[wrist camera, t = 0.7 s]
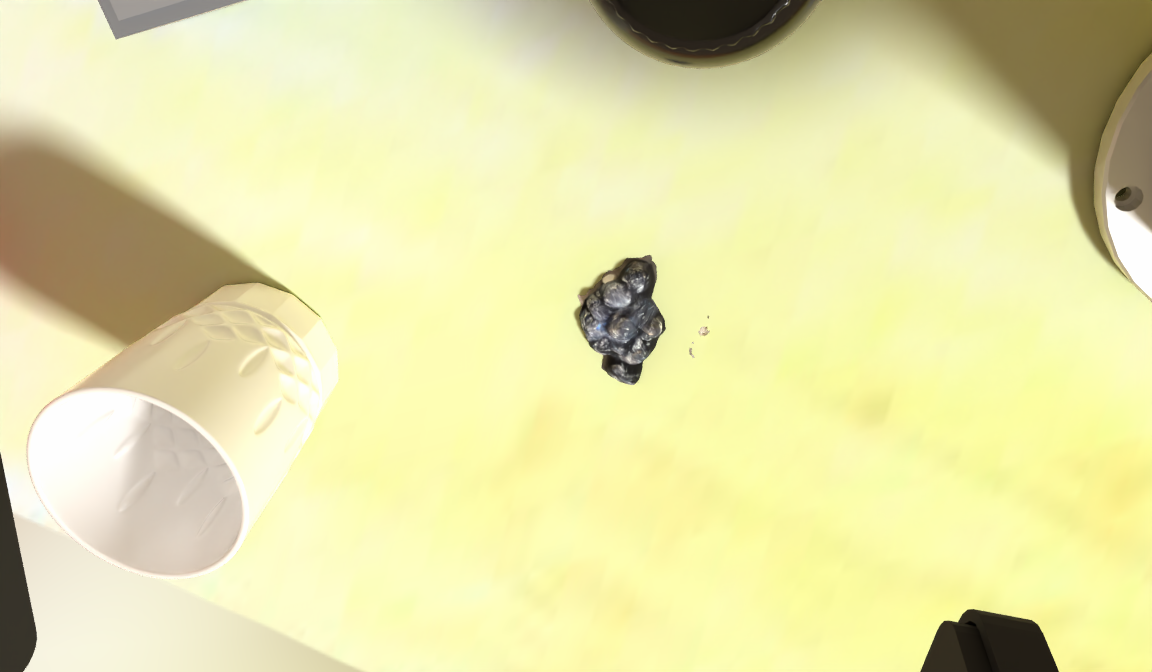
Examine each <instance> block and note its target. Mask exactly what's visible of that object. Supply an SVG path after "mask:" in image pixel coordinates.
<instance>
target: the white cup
mask: <svg viewBox="0 0 1152 672" xmlns="http://www.w3.org/2000/svg"><path fill="white" fill-rule="evenodd" d="M338 380H339V376H338V356H337V347H336V346H335V344H334V342H333V340H332V338H331V336H330V334H329V332H328V331H327V329H326V327H325V325H324V323H323V321H322V319H321V318H320V317H319V316H318V315H317V314H315V313H314V312H313V311H312V310H311V309H309V308H308V307H307V306H306V305H305V304H303V303H302V302H301V301H300V300H299V299H298V298H296V297H295V296H294V295H293V294H290V293H287V292H284V291H281V290H278V289H276V288H273V287H270V286H267V285H264V284H261V283H246V284H234V285H225V286H223V287H221V288H220V289H218V290H217V291H215V292H214V293H212V294H211V295H209V296H208V297H207V298H205V299H204V300H202V301H201V302H199V303H198V304H196V305H195V306H194V307H192V308H190V309H189V310H187V311H186V312H184V313H181V314H177V315H175V316H173V317H172V318H171V319H169V320H168V321H167V322H165V323H163V324H162V325H160V326H158V327H157V328H155V329H154V330H152V331H151V332H149V333H148V334H147V335H145V336H144V337H143V338H141V339H139V340H138V341H136V342H134V343H133V344H131V345H130V346H128V347H127V348H125V349H124V350H123V351H121V352H120V353H119V354H117V355H116V356H115V357H113V358H112V359H111V360H109V361H108V362H107V363H105V364H104V365H102V366H101V367H100V368H98V369H97V370H95V371H94V372H93V373H91V374H90V375H88V376H86V377H85V378H84V379H82V380H81V381H79V382H78V383H77V384H75V385H74V386H72V387H71V388H70V389H68V390H67V391H65V392H64V393H63V394H61V395H60V396H58V397H57V398H55V399H54V400H53V401H51V402H50V403H49V404H48V405H46V406H45V407H44V408H43V409H42V410H41V412H40V413H39V414H38V416H37V417H36V419H35V420H34V422H33V424H32V426H31V429H30V432H29V435H28V440H27V464H28V470H29V474H30V477H31V480H32V483H33V486H34V488H35V490H36V493H37V495H38V497H39V498H40V500H41V502H42V504H43V505H44V507H45V508H46V510H47V511H48V513H49V514H50V515H51V516H52V518H53V519H54V520H55V521H56V523H57V524H58V525H59V526H60V527H61V528H62V529H63V530H64V531H65V532H66V533H67V534H68V535H69V536H70V537H71V538H72V539H74V540H75V541H76V542H77V543H78V544H80V545H81V546H82V547H84V548H85V549H86V550H88V551H89V552H91V553H92V554H94V555H96V556H97V557H99V558H101V559H103V560H104V561H106V562H108V563H110V564H112V565H114V566H117V567H119V568H121V569H124V570H127V571H130V572H133V573H136V574H140V575H144V576H148V577H154V578H162V579H185V578H192V577H197V576H201V575H204V574H207V573H209V572H212V571H214V570H216V569H217V568H219V567H221V566H222V565H224V564H225V563H226V562H228V561H229V560H230V559H231V558H232V557H233V556H234V555H235V553H236V552H237V551H238V549H239V548H240V546H241V545H242V543H243V542H244V540H245V538H246V537H247V535H248V534H249V532H250V530H251V529H252V527H253V526H254V524H255V523H256V521H257V519H258V518H259V516H260V515H261V513H262V511H263V510H264V508H265V507H266V505H267V504H268V502H269V501H270V499H271V497H272V496H273V494H274V493H275V491H276V490H277V488H278V487H279V485H280V484H281V482H282V481H283V479H284V477H285V476H286V474H287V473H288V471H289V469H290V467H291V465H292V463H293V461H294V460H295V458H296V457H297V455H298V454H299V452H300V451H301V449H302V447H303V445H304V443H305V441H306V440H307V438H308V437H309V435H310V434H311V432H312V430H313V428H314V424H315V420H316V419H317V417H318V416H319V414H320V413H321V411H322V410H323V408H324V406H325V405H326V403H327V401H328V399H329V397H330V395H331V393H332V392H333V390H334V388H335V386H336V384H337V382H338Z"/></svg>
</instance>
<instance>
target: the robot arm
mask: <svg viewBox="0 0 1152 672" xmlns="http://www.w3.org/2000/svg"><path fill="white" fill-rule="evenodd" d="M1125 187H1126V192H1125V193H1124V194H1123V195H1122V196H1119V197H1115V196H1116V194H1117V193H1118V192H1119V191H1120V190H1121V189H1123V188H1125ZM1094 207H1095V211H1096V216H1097V221H1098V225H1099V230H1100V234H1101V236H1102V238H1103V240H1104V243H1105V245H1106V247H1107V249H1108V251H1109V253H1110V255H1111V257H1112V259H1113V261H1114V262H1115V264H1116V265H1117V266H1118V267H1119V268H1120V270H1121V271H1122V272H1123V273H1124V275H1125V276H1126V277H1127V278H1128V279H1129V281H1130V282H1131V283H1132V284H1133V285H1134V286H1135V287H1136V288H1137V289H1138V290H1139V291H1140V292H1141V293H1142V294H1144V295H1145V296H1146V297H1147V298H1148V299H1149V300H1150V301H1151V302H1152V53H1151V54H1150V55H1149V56H1148V57H1147V58H1146V59H1145V60H1144V61H1143V62H1142V64H1141V65H1140V66H1139V68H1138V69H1137V71H1136V72H1135V74H1134V75H1133V77H1132V78H1131V80H1130V81H1129V83H1128V84H1127V86H1126V87H1125V89H1124V91H1123V92H1122V94H1121V95H1120V97H1119V98H1118V100H1117V102H1116V104H1115V107H1114V109H1113V111H1112V114H1111V116H1110V118H1109V120H1108V123H1107V125H1106V127H1105V130H1104V132H1103V134H1102V138H1101V142H1100V147H1099V151H1098V156H1097V160H1096V165H1095V169H1094ZM36 641H37V632H36V627H35V622H34V617H33V612H32V607H31V602H30V597H29V592H28V587H27V583H26V577H25V572H24V567H23V562H22V557H21V553H20V548H19V543H18V538H17V533H16V528H15V523H14V518H13V513H12V508H11V503H10V498H9V493H8V488H7V483H6V478H5V473H4V469H3V464H2V459H1V454H0V672H23V671H24V670H25V668H26V666H27V665H28V664H29V662H30V660H31V658H32V656H33V653H34V650H35V647H36ZM920 672H1059V671H1058V668H1057V666H1056V663H1055V661H1054V659H1053V656H1052V654H1051V652H1050V649H1049V647H1048V644H1047V642H1046V640H1045V637H1044V635H1043V633H1042V631H1041V629H1040V628H1039V626H1038V625H1037V624H1036V623H1035V622H1033V621H1032V620H1028V619H1022V618H1017V617H1012V616H1006V615H1001V614H996V613H990V612H985V611H980V610H974V609H970V610H967V611H966V612H965V613H963V614H962V616H961V618H960V620H959V621H958V622H953V621H944V622H943V623H942V624H941V625H940V627H939V629H938V630H937V633H936V635H935V638H934V640H933V642H932V645H931V647H930V650H929V652H928V654H927V657H926V659H925V662H924V664H923V667H922V669H921V671H920Z"/></svg>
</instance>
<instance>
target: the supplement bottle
mask: <svg viewBox="0 0 1152 672" xmlns="http://www.w3.org/2000/svg"><path fill="white" fill-rule="evenodd" d="M589 1H590V3H591V5H592V6H593V8H594V9H595V11H596V12H597V14H598V15H599V17H600V18H601V19H602V20H603V22H604V23H605V24H606V25H607V26H608V27H609V28H610V29H611V30H612V31H613V33H614V34H615V35H617V36H618V37H619V38H620V39H621V40H623V41H624V42H625V43H626V44H628V45H629V46H631V47H632V48H634V49H635V50H637V51H638V52H640V53H642V54H644V55H646V56H648V57H650V58H653V59H655V60H657V61H660V62H663V63H667V64H670V65H674V66H679V67H685V68H696V69H704V68H718V67H725V66H730V65H735V64H738V63H741V62H744V61H747V60H750V59H752V58H755V57H757V56H759V55H761V54H763V53H765V52H767V51H769V50H771V49H772V48H774V47H775V46H777V45H778V44H780V43H781V42H783V41H784V40H785V39H787V38H788V37H789V36H790V35H792V34H793V33H794V32H795V31H796V30H797V29H798V28H799V27H800V26H801V25H802V24H803V23H804V22H805V21H806V20H807V19H808V18H809V17H810V15H811V14H812V13H813V12H814V11H815V9H816V8H817V6H818V5H819V4H820V2H821V1H822V0H589Z"/></svg>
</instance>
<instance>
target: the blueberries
mask: <svg viewBox="0 0 1152 672" xmlns="http://www.w3.org/2000/svg"><path fill="white" fill-rule="evenodd" d="M656 280H657V271H656V265H655V263H654V262H653V261H652V257H651V255H647V256H645V257H642V258H627V259H626V260H625V261H624V262H623V264H622V265H621V266H620V267H618V268H616V269H614V270H612V271H608V272H606V273H605V274H604V275H603V277H602V279H601V280H600V281H599V282H598V283H597V284H596V285H595V286H594V288H593V289H589V291H588V292H587V294H586V295H583V296H581V295H578V298H579V300H580V302H581V307H582V309H581V311H580V315H579V316H580V321H581V327H582V329H583V331H584V333H585V335H586V338H587V340H588V342H589V345H590V347H591V348H593V349H594V350H595V351H596V352H598V353H600V354H602V355H603V357H604V359H603V363H602V369H603V370H605V371H606V372H607V373H608V375H610V376H611V377H613V378H615V379H617V380H618V381H620V382H623V383H626V384H630V385H634V384H635V383H636V382H637V381H638V380H639V378H640V374H641V371H642V364H643V361H644V360H645V359H646V358H647V357H648V356H649V355H650V353H651V352H652V351H653V350H654V348H655V346H656V343H657V340H658V338H659V336H660V335H661V334H662V333H663V332H664V331H665V329H666V328H665V320H664V318H663V316H662V315H661V313H660V311H659V309H658V307H657V306H656V304H655V302H654V301H653V300H652V298H651V297H652V293H653V290H654V286H655V283H656ZM708 318H709V316H708ZM709 332H710V331H708V330H707V327H701V328H700V331H699V332H698V333H700V335H703V336H705V335H707V334H708V333H709ZM692 343H693V342H692ZM693 344H694V343H693ZM691 350H692V348H690V349H689V351H690V355H691V356H692V357H693V358H694V355H692V353H691Z"/></svg>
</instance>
